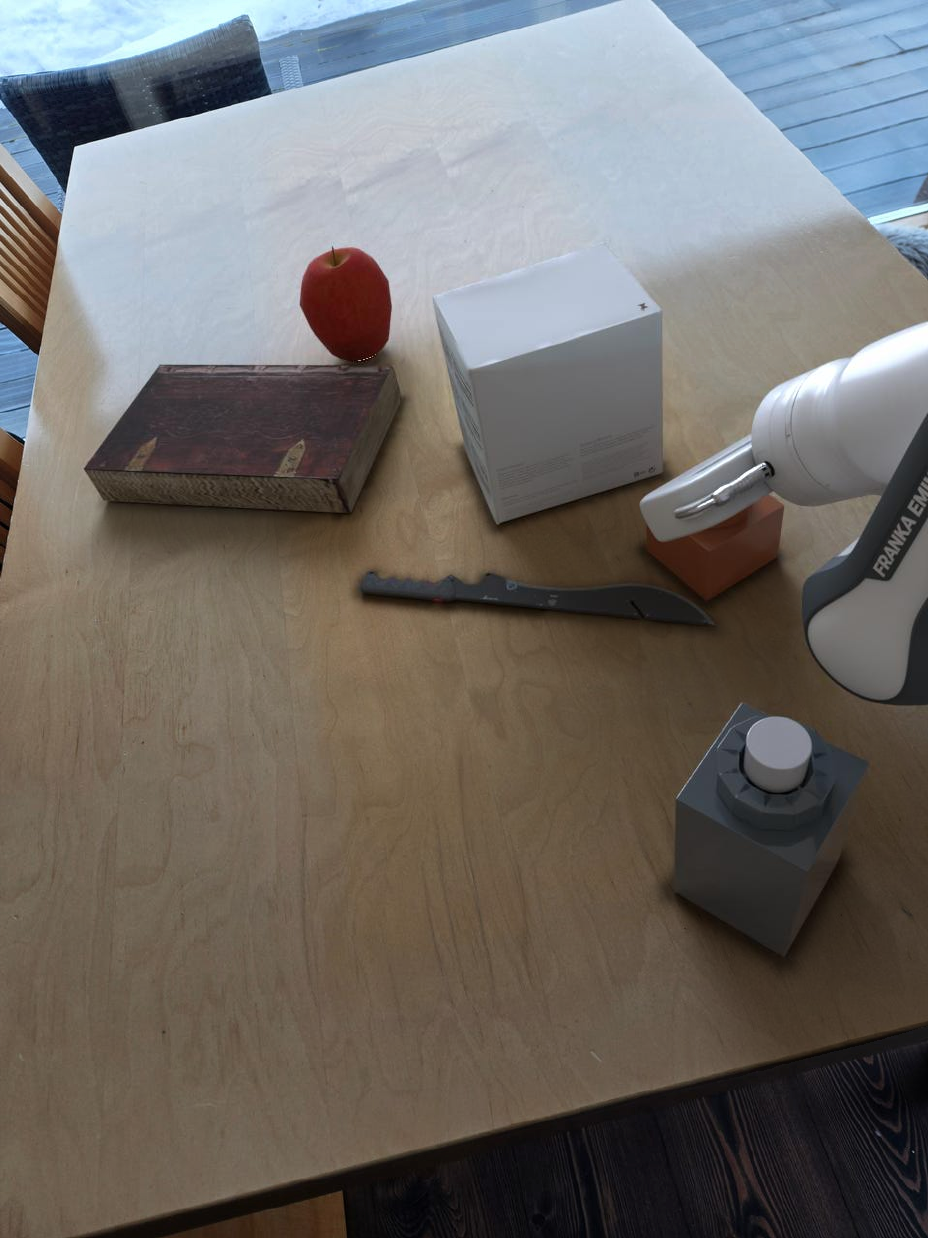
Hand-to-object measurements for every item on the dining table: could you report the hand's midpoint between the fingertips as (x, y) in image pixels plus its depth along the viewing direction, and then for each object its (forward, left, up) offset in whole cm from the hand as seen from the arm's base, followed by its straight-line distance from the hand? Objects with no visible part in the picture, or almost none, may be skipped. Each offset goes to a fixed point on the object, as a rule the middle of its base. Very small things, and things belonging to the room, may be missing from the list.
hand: (714, 473), depth 75 cm
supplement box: (+19, -4, -10) cm, 22 cm away
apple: (+51, -9, -10) cm, 53 cm away
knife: (+11, +12, -9) cm, 19 cm away
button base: (0, 0, -9) cm, 9 cm away
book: (+50, +10, -10) cm, 52 cm away
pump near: (-17, +25, +5) cm, 31 cm away
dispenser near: (-17, +25, -9) cm, 32 cm away
